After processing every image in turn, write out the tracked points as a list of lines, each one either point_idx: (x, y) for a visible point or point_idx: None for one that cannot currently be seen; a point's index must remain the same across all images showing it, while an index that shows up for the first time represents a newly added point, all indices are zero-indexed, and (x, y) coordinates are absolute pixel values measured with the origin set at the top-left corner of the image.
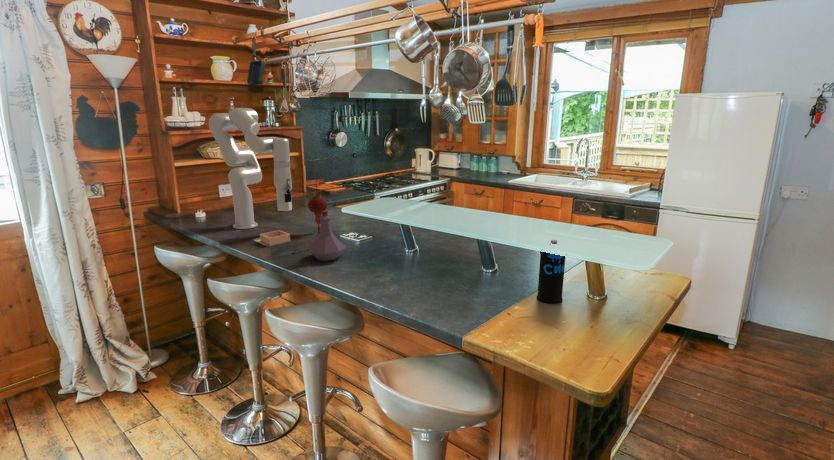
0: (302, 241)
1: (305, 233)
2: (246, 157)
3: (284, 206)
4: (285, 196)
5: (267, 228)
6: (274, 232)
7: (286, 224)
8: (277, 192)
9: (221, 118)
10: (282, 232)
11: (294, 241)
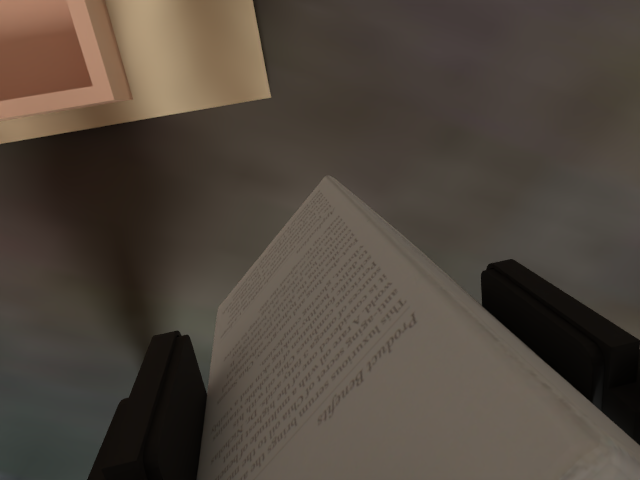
0: (11, 247)
1: None
2: None
3: (256, 284)
4: (123, 427)
5: (567, 123)
6: (77, 29)
7: (576, 278)
8: (417, 321)
9: None
10: (9, 99)
11: (42, 191)
